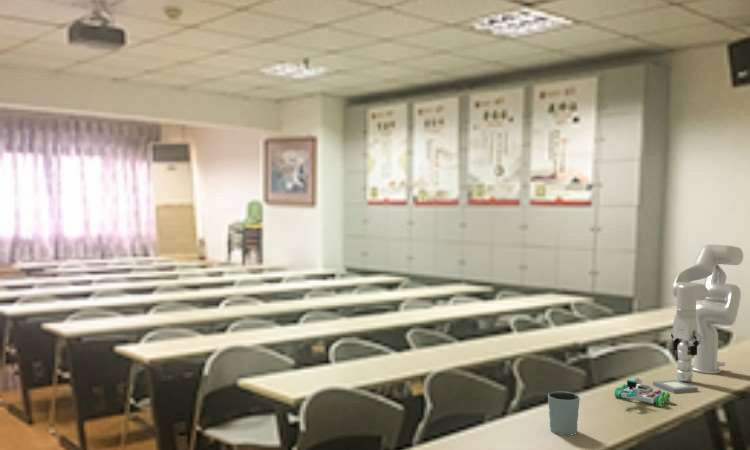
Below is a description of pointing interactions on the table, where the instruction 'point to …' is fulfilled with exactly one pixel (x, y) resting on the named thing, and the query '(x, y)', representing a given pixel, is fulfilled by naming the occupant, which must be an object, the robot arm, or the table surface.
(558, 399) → the grey blue cup
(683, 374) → the plastic bottle
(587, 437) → the table surface
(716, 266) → the robot arm
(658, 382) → the grey flat square slab
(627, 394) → the robot kit
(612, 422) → the table surface
